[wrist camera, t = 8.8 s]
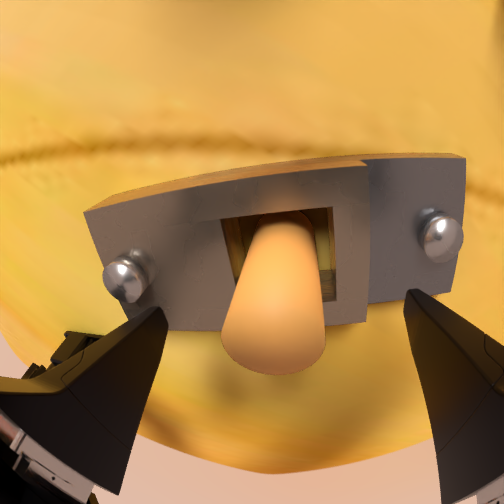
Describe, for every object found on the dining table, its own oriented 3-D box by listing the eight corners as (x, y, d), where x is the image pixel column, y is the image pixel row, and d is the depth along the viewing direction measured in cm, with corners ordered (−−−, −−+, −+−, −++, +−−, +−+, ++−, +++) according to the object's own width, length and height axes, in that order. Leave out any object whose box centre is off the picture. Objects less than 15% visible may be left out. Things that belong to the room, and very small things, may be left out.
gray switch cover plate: (357, 289, 16) (368, 334, 13) (151, 301, 19) (126, 338, 15) (352, 155, 13) (374, 169, 9) (112, 195, 15) (71, 219, 12)
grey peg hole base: (441, 278, 15) (456, 301, 13) (230, 299, 18) (221, 325, 15) (452, 153, 11) (476, 162, 9) (198, 175, 14) (181, 187, 12)
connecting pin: (315, 258, 16) (325, 372, 8) (260, 263, 16) (233, 374, 9) (310, 204, 14) (324, 298, 7) (250, 211, 15) (209, 305, 8)
